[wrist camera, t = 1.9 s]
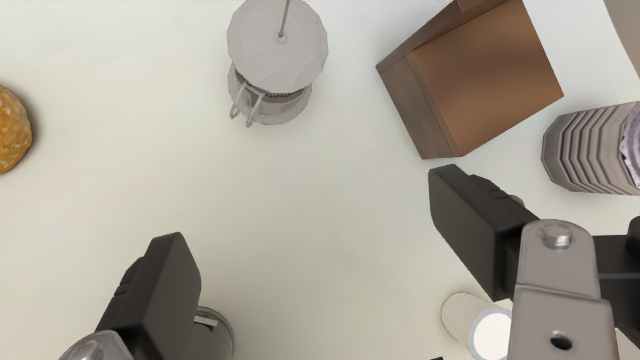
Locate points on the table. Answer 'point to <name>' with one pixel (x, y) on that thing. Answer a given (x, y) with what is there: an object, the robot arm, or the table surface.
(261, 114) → the french press
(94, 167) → the table surface
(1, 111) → the bagel
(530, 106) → the l-shaped wooden block
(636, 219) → the robot arm
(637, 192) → the can
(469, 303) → the white short cylinder
